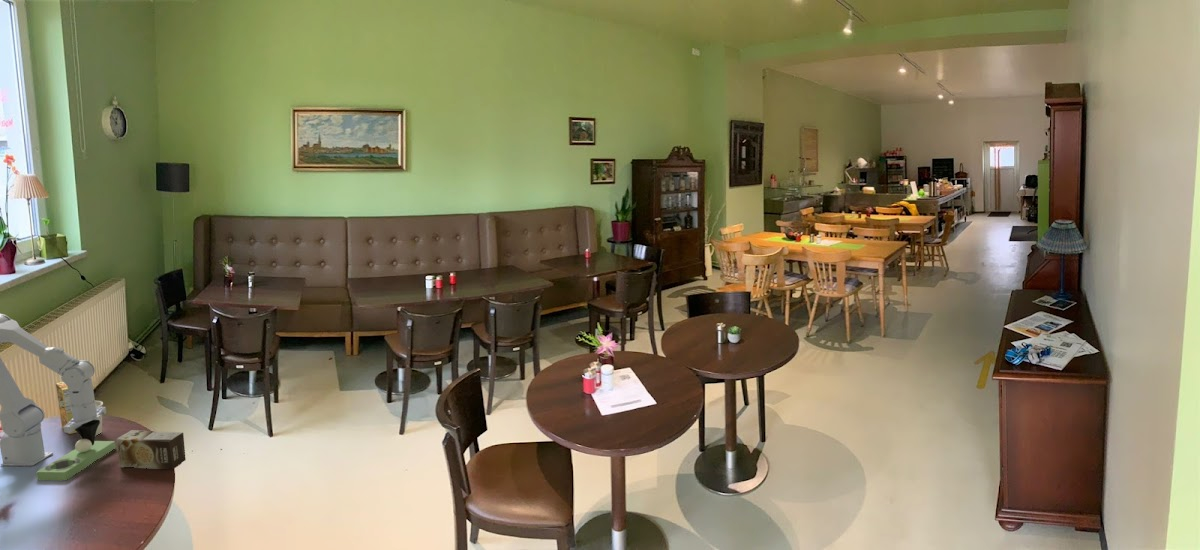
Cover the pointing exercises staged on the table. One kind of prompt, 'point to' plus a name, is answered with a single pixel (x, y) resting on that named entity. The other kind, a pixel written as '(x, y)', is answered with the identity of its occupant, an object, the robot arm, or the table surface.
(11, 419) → the robot arm
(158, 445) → the coffee box
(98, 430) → the dixie cup
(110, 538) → the table surface
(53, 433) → the table surface
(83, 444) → the ball
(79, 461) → the putting mat
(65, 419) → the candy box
